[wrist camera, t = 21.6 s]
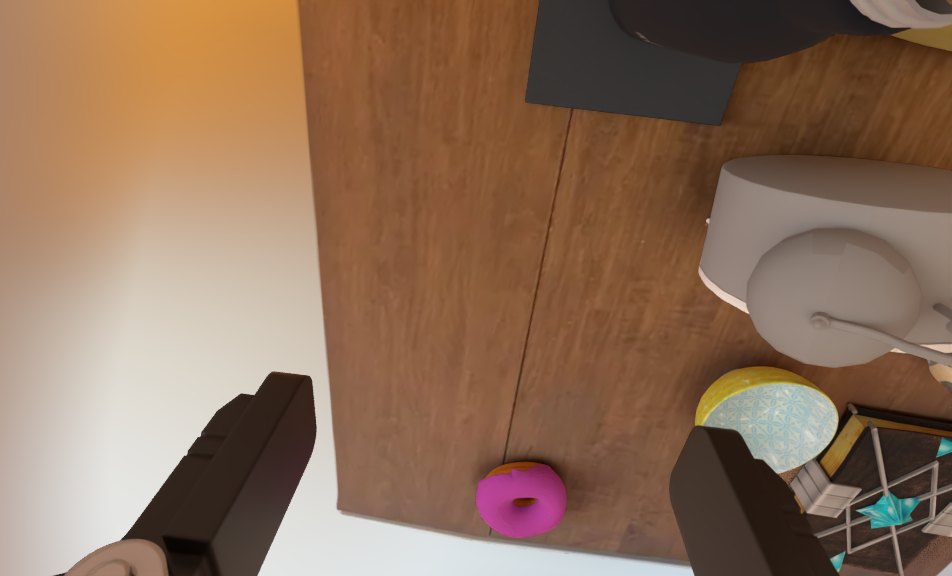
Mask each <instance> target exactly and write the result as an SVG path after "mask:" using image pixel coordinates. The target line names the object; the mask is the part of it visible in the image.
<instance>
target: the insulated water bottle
mask: <svg viewBox="0 0 952 576" xmlns="http://www.w3.org/2000/svg"><path fill="white" fill-rule="evenodd" d="M609 5H610V10H611V14H612V16H613V18H614V19H615V21H616V23H617V25H618V27H619V28H620V29H621V30H622V31H624V32H625V33H626V34H627V35H628V36H629V37H631V38H634V39H637V40H639V41H642V42H645V43H649V44H653V45H657V46H661V47H665V48H669V49H673V50H677V51H681V52H684V53H688V54H692V55H696V56H700V57H704V58H708V59H712V60H716V61H720V62H724V63H754V62H760V61H766V60H770V59H774V58H778V57H781V56H785V55H788V54H791V53H794V52H797V51H800V50H803V49H806V48H809V47H812V46H814V45H816V44H818V43H820V42H822V41H824V40H826V39H828V38H829V37H831V36H833V35H835V34H847V35H861V36H887V35H893V34H896V33H899V32H902V31H905V30H908V29H928V28H941V27H944V26H947V25H950V24H952V0H609Z"/></svg>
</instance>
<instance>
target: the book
mask: <svg viewBox="0 0 952 576" xmlns="http://www.w3.org/2000/svg"><path fill="white" fill-rule="evenodd" d="M847 406H848V410H849V412H848V414H847V415H846V417H845V418H844V420H843V421H842V423H841V424H840V426H839V427H838V429H837V430H836V433H835V435H834V437H833V439H832V440H831V441H830V443H829V444H828V445H827V447H826V448H825V449H824V450H823V451H822V452H821V453H820V454H819V456H818V457H817V456H816V457H814V458H813V459H811V460H810V461H808V462H807V463H806V464H805V465H804V466H803V468H802V469H801V470H800V472H799V473H798V474H797V476H796V477H795V478H794V479H793V481H792V482H791V483H790V485H791V487H792V489H793V491H792V494H793V496H794V498H795V499H796V501H797V503H798V504H799V506H800V508H801V514H804V515H805V517H806V518H807V520H808V522H809V524H810V525H811V527H812V529H813V530H814V531H813V534H814V536H817V537H818V539H819V541H820V543H821V544H822V546H823V548H824V550H825V551H826V553H827V555H828V556H829V558H830V560H831V562H832V563H833V565H834V567H835V569H836V570H837V571H838V572H839V570H840V567H841V565H842V564H843V565H848V566H854V567H860V568H864V569H869V570H874V571H878V572H883V573H887V574H892V575H898V576H904V573H903V571H904V570H905V569H906V568H907V567H908V566H909V564H910V563H911V562H912V561H913V560H914V559H915V558H916V557H917V556H918V555H919V554H920V553H921V552H922V551H923V550H924V549H925V548H926V547H927V546H928V545H929V544H930V543H931V542H932V541H933V540H934V539H936V538H937V537H938V536H939V535H943V536H949V537H952V423H946V422H940V421H933V420H927V419H921V418H915V417H909V416H903V415H897V414H892V413H886V412H881V411H876V410H870V409H865V408H860V407H854V406H853V405H852V403H850V404H847Z"/></svg>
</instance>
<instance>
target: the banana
mask: <svg viewBox="0 0 952 576" xmlns="http://www.w3.org/2000/svg"><path fill="white" fill-rule="evenodd" d="M891 36H894V37H897V38H900V39H904V40H907V41H910V42H914V43H918V44H922V45H926V46H930V47H934V48H939V49H943V50H948V51H952V24H950V25H947V26H944V27H941V28H928V29H908V30H905V31H902V32H899V33H896V34H893V35H891Z"/></svg>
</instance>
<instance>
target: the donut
mask: <svg viewBox="0 0 952 576" xmlns="http://www.w3.org/2000/svg"><path fill="white" fill-rule="evenodd" d="M566 501H567V497H566V489H565V486H564V484H563V481H562V480H561V478H560V477H559V476H558V475H557V474H556V473H555V472H554V471H553V470H552V469H551V467H550V466H548V465H543V464H540V463H536V462H514V463H508V464H504V465H501V466H499V467H497V468H495V469H494V470H492V471H491V472H490V473H488V475H487V476H486V477H485V478H484V479H482V480H480V481H479V483H478V487H477V493H476V504H477V508H478V511H479V513H480V515H481V516H482V518H483V519H484V520H485V522H486V523H487V524H488V525H489V526H490V527H492V528H493V529H494V530H496V531H497V532H499V533H501V534H503V535H506V536H509V537H515V538H522V537H529V536H534V535H538V534H542V533H544V532H547V531H549V530H551V529H553V528H554V527H555V526H557V525H558V524H559V522H560V521H561V520H562V518H563V516H564V513H565V509H566Z"/></svg>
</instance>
